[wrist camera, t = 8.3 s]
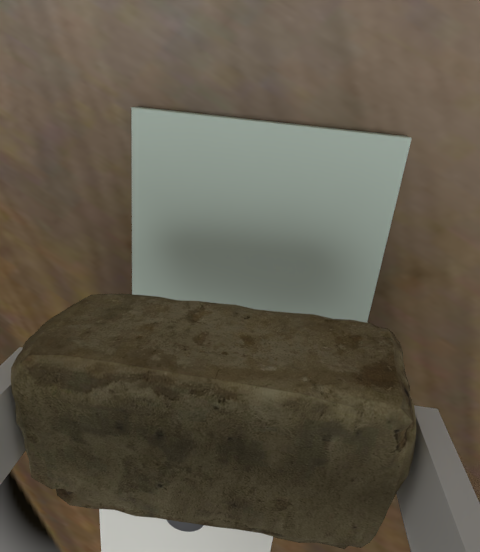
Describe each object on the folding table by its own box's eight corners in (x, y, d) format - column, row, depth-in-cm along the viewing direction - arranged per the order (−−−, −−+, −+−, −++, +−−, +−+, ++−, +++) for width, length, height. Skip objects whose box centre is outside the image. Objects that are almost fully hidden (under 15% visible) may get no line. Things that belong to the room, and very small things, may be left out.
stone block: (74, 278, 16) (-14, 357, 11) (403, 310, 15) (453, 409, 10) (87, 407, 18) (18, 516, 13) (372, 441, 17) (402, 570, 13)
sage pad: (346, 390, 29) (348, 400, 28) (137, 360, 30) (132, 368, 29) (406, 136, 22) (411, 138, 21) (138, 106, 23) (131, 107, 22)
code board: (264, 578, 37) (264, 583, 37) (102, 549, 38) (100, 554, 38) (296, 408, 30) (296, 412, 29) (95, 378, 31) (92, 381, 30)
